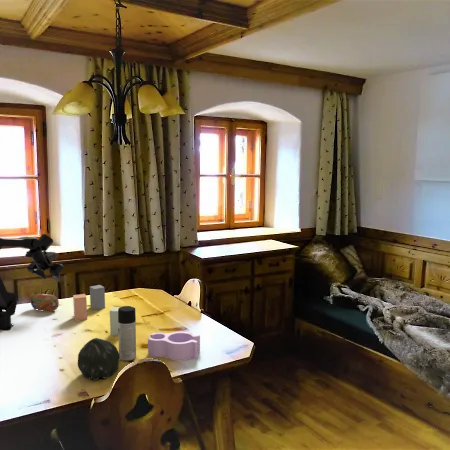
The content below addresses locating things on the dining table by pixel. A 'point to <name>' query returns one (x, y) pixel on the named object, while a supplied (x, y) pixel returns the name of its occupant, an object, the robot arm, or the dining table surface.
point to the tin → (45, 302)
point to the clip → (174, 345)
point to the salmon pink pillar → (80, 307)
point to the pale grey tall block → (114, 321)
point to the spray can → (127, 333)
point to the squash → (98, 359)
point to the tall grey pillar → (97, 297)
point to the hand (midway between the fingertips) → (52, 279)
